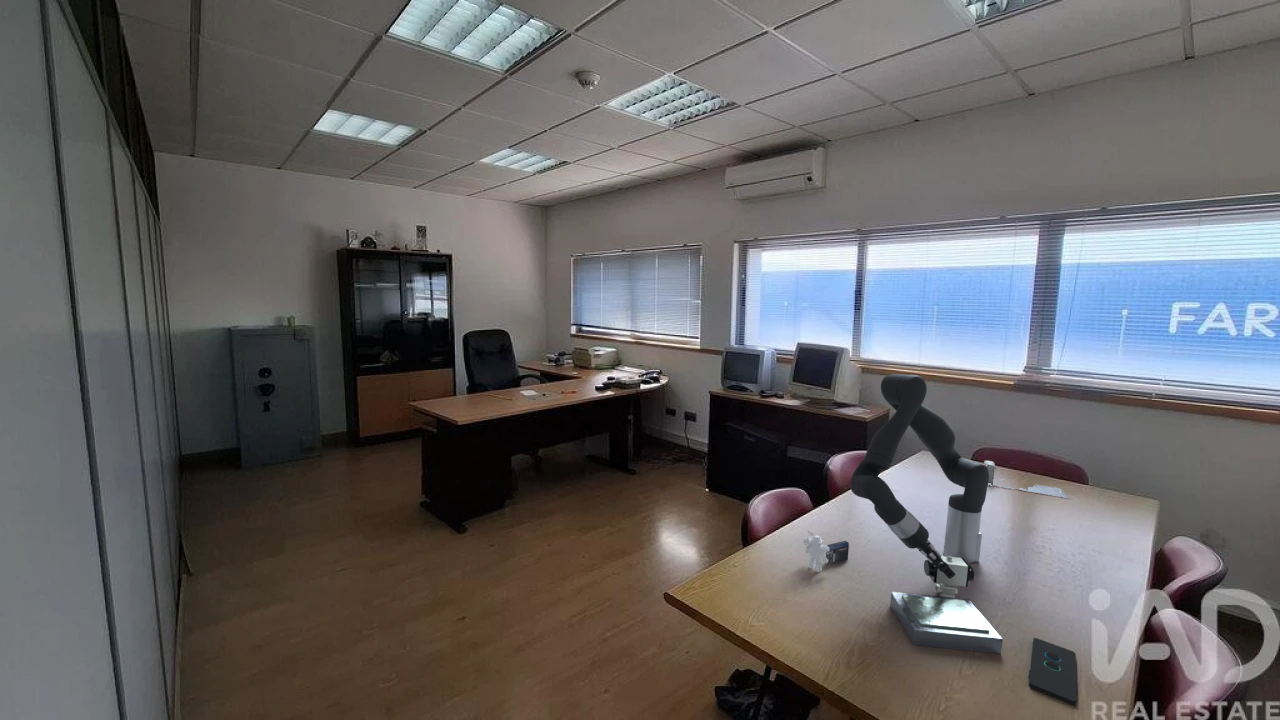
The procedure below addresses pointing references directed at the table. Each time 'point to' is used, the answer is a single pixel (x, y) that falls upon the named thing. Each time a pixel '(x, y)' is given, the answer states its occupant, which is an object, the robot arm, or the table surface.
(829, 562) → the mini dv tape
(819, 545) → the hat wearing toy figure
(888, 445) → the robot arm
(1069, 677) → the smart home device
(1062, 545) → the table surface
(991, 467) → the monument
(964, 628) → the grey picture frame
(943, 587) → the pneumatic valve
